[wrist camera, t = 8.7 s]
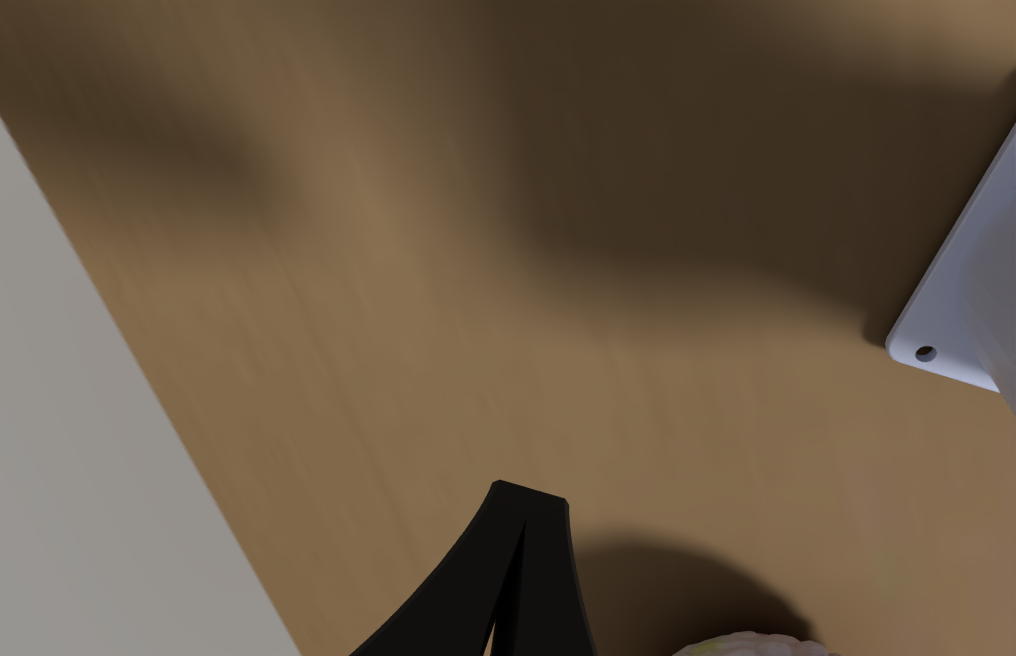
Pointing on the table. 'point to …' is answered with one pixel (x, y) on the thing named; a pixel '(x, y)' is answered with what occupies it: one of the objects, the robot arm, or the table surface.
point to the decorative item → (754, 646)
